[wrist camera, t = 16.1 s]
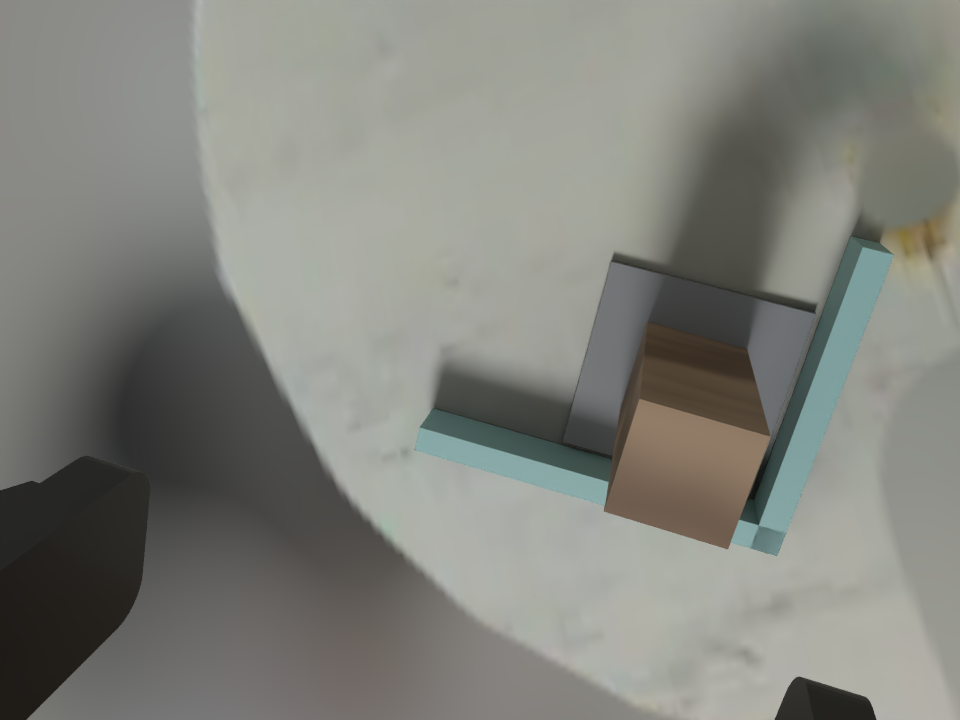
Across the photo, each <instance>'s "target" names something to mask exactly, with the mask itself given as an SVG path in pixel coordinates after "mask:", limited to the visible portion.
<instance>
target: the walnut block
mask: <svg viewBox="0 0 960 720" xmlns="http://www.w3.org/2000/svg"><path fill="white" fill-rule="evenodd" d="M770 437H771V436H770V432H769V429H768V425H767V421H766V417H765V414H764V410H763V406H762V402H761V399H760V395H759V391H758V387H757V384H756V380H755V376H754V373H753V369H752V365H751V361H750V358H749V354H748V350H747V349H745V348H741V347H738V346H734V345H730V344H727V343H723V342H720V341H716V340H712V339H709V338H705V337H702V336H698V335H694V334H691V333H687V332H684V331H680V330H676V329H673V328H669V327H666V326H662V325H658V324H655V323H651V322H647V325H646V328H645V331H644V335H643V338H642V341H641V344H640V348H639V351H638V354H637V357H636V360H635V364H634V367H633V370H632V373H631V377H630V380H629V383H628V386H627V390H626V393H625V396H624V399H623V402H622V406H621V409H620V413H619V419H618V426H617V432H616V438H615V445H614V451H613V457H612V464H611V470H610V476H609V483H608V489H607V495H606V502H605V508H604V512H608V513H611V514H614V515H617V516H621V517H624V518H627V519H631V520H634V521H637V522H640V523H644V524H647V525H650V526H653V527H657V528H660V529H663V530H666V531H670V532H673V533H676V534H680V535H683V536H686V537H689V538H693V539H696V540H699V541H702V542H706V543H709V544H712V545H715V546H719V547H722V548H725V549H728V548H729V545H730V542H731V540H732V537H733V534H734V532H735V529H736V527H737V524H738V521H739V519H740V516H741V513H742V511H743V508H744V506H745V503H746V500H747V498H748V495H749V492H750V490H751V487H752V485H753V482H754V479H755V477H756V474H757V471H758V469H759V466H760V464H761V461H762V458H763V456H764V453H765V450H766V448H767V445H768V443H769V440H770Z"/></svg>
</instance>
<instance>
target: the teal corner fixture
mask: <svg viewBox="0 0 960 720" xmlns="http://www.w3.org/2000/svg"><path fill="white" fill-rule="evenodd" d="M893 256H894V254H892V253H891V252H890V251H889V250H887V249H886V248H885V247H884V246H883V245H881V244H880V243H877V242H873V241H869V240H865V239H861V238H856V237H852V236H851V237H850V239H849V242H848V245H847V248H846V250H845V253H844V256H843V259H842V261H841V264H840V267H839V269H838V272H837V275H836V278H835V280H834V283H833V286H832V289H831V291H830V294H829V297H828V299H827V302H826V305H825V308H824V310H823V313H822V316H821V318H820V321H819V324H818V327H817V329H816V332H815V335H814V338H813V340H812V343H811V346H810V348H809V351H808V354H807V357H806V359H805V362H804V365H803V368H802V370H801V373H800V376H799V378H798V381H797V384H796V387H795V389H794V392H793V395H792V397H791V400H790V403H789V406H788V408H787V411H786V414H785V417H784V419H783V422H782V425H781V427H780V430H779V433H778V436H777V438H776V441H775V444H774V447H773V449H772V452H771V455H770V457H769V460H768V463H767V466H766V468H765V471H764V474H763V477H762V479H761V482H760V485H759V487H758V490H757V493H756V496H755V498H754V500H753V499H750V498H747V500H746V503H745V506H744V508H743V511H742V513H741V516H740V519H739V521H738V524H737V527H736V529H735V532H734V534H733V537H732V540H731V543H734V544H737V545H741V546H744V547H748V548H751V549H755V550H758V551H761V552H765V553H768V554H772V555H775V556H777V555H778V553H779V550H780V547H781V545H782V542H783V540H784V537H785V535H786V532H787V529H788V527H789V524H790V522H791V519H792V516H793V514H794V511H795V509H796V506H797V504H798V501H799V498H800V496H801V493H802V491H803V488H804V486H805V483H806V480H807V478H808V475H809V473H810V470H811V467H812V465H813V462H814V460H815V457H816V455H817V452H818V449H819V447H820V444H821V442H822V439H823V436H824V434H825V431H826V429H827V426H828V424H829V421H830V418H831V416H832V413H833V411H834V408H835V406H836V403H837V400H838V398H839V395H840V393H841V390H842V387H843V385H844V382H845V380H846V377H847V375H848V372H849V369H850V367H851V364H852V362H853V359H854V357H855V354H856V351H857V349H858V346H859V344H860V341H861V338H862V336H863V333H864V331H865V328H866V326H867V323H868V320H869V318H870V315H871V313H872V310H873V307H874V305H875V302H876V300H877V297H878V295H879V292H880V289H881V287H882V284H883V282H884V279H885V277H886V274H887V271H888V269H889V266H890V264H891V261H892V258H893ZM815 316H816V313H815V312H811V311H807V310H803V309H799V308H795V307H792V306H788V305H784V304H780V303H776V302H772V301H768V300H764V299H760V298H756V297H753V296H749V295H745V294H741V293H737V292H733V291H729V290H725V289H721V288H717V287H714V286H710V285H706V284H702V283H698V282H694V281H690V280H686V279H682V278H678V277H674V276H671V275H667V274H663V273H659V272H655V271H651V270H647V269H643V268H639V267H635V266H632V265H628V264H624V263H620V262H616V261H611V265H610V269H609V272H608V276H607V280H606V283H605V287H604V291H603V294H602V298H601V302H600V305H599V309H598V313H597V316H596V320H595V324H594V327H593V331H592V335H591V338H590V342H589V346H588V349H587V353H586V357H585V360H584V364H583V368H582V371H581V375H580V379H579V383H578V386H577V390H576V394H575V397H574V401H573V405H572V408H571V412H570V416H569V419H568V423H567V427H566V430H565V434H564V438H563V441H562V442H565V443H568V444H572V445H575V446H579V447H582V448H586V449H589V450H593V451H596V452H600V453H603V454H607V455H610V456H613V451H614V445H615V438H616V432H617V426H618V419H619V413H620V409H621V406H622V402H623V399H624V396H625V393H626V390H627V386H628V383H629V380H630V377H631V373H632V370H633V367H634V364H635V360H636V357H637V354H638V351H639V348H640V344H641V341H642V338H643V335H644V331H645V328H646V325H647V322H651V323H655V324H658V325H662V326H666V327H669V328H673V329H676V330H680V331H684V332H687V333H691V334H694V335H698V336H702V337H705V338H709V339H712V340H716V341H720V342H723V343H727V344H730V345H734V346H738V347H741V348H745V349H747V350H748V354H749V358H750V361H751V365H752V369H753V373H754V376H755V380H756V384H757V387H758V391H759V395H760V399H761V402H762V406H763V410H764V414H765V417H766V421H767V425H768V429H769V432H770V436H771V437H772V434H773V431H774V428H775V426H776V423H777V420H778V417H779V415H780V412H781V409H782V406H783V404H784V401H785V398H786V396H787V393H788V390H789V387H790V385H791V382H792V379H793V376H794V374H795V371H796V368H797V365H798V363H799V360H800V357H801V354H802V352H803V349H804V346H805V343H806V341H807V338H808V335H809V332H810V330H811V327H812V324H813V321H814V319H815ZM771 437H770V439H771ZM769 442H770V440H769ZM768 445H769V443H768ZM768 445H767V448H768ZM767 448H766V450H767ZM415 450H416V451H419V452H423V453H426V454H429V455H433V456H436V457H440V458H443V459H447V460H450V461H453V462H457V463H460V464H464V465H467V466H471V467H474V468H477V469H481V470H484V471H488V472H491V473H494V474H498V475H501V476H505V477H508V478H512V479H515V480H518V481H522V482H525V483H529V484H532V485H536V486H539V487H542V488H546V489H549V490H553V491H556V492H559V493H563V494H566V495H570V496H573V497H577V498H580V499H583V500H587V501H590V502H594V503H597V504H601V505H604V506H605V502H606V495H607V489H608V483H609V476H610V470H611V464H612V459H609V458H606V457H602V456H599V455H595V454H592V453H588V452H585V451H581V450H578V449H574V448H571V447H567V446H564V445H560V444H557V443H553V442H550V441H546V440H543V439H539V438H536V437H532V436H529V435H525V434H522V433H518V432H515V431H511V430H508V429H504V428H501V427H497V426H494V425H490V424H487V423H483V422H480V421H476V420H473V419H469V418H466V417H462V416H459V415H455V414H452V413H448V412H445V411H441V410H437V409H434V408H433V409H432V411H431V412H430V414H429V415H428V416H427V418H426V419H425V421H424V422H423V423H422V425H421V426H420V428H419V433H418V437H417V442H416V447H415ZM766 450H765V453H766ZM765 453H764V456H765ZM764 456H763V458H762V461H763V459H764ZM762 461H761V464H762ZM761 464H760V466H759V469H758V471H757V474H756V477H755V479H754V482H753V485H752V487H751V490H750V492H749V495H750V494H751V492H752V489H753V486H754V483H755V481H756V478H757V475H758V472H759V470H760V467H761Z"/></svg>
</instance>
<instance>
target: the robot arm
mask: <svg viewBox="0 0 960 720" xmlns="http://www.w3.org/2000/svg"><path fill="white" fill-rule="evenodd" d="M149 497H150V484H149V479H148V477H147V475H146V474H145V473H143V472H140V471H137V470H134V469H130V468H127V467H124V466H120V465H117V464H114V463H111V462H108V461H104V460H101V459H98V458H95V457H91V456H83V457H80V458H79V459H77V460H75V461H74V462H72V463H70V464H69V465H67V466H66V467H64V468H63V469H61V470H60V471H58V472H57V473H55V474H54V475H52V476H50V477H49V478H47V479H46V480H44V481H43V482H41V483H37V482H34V481H30V482H26V483H23V484H20V485H17V486H13V487H10V488H7V489H4V490H0V720H26V719H27V718H28V717H29V716H30V715H31V714H32V713H33V712H34V711H35V710H36V709H37V708H38V707H39V706H40V705H41V704H42V703H43V702H44V701H45V700H46V699H47V698H48V697H49V696H50V695H51V694H52V693H53V692H54V691H55V690H56V689H57V688H58V687H59V686H60V685H61V684H62V683H63V682H64V681H65V680H66V679H67V678H68V677H69V676H70V675H71V674H72V673H73V672H74V671H75V670H76V669H77V668H78V667H79V666H80V665H81V664H82V663H83V662H84V661H85V660H86V659H87V658H88V657H89V656H90V655H91V654H92V653H93V652H94V651H95V650H96V649H97V648H98V647H99V646H100V645H101V644H102V643H103V642H104V641H105V640H106V639H107V638H108V637H109V636H110V635H111V634H112V633H113V632H114V631H115V630H116V629H117V628H118V627H119V626H120V625H121V624H122V623H123V621H124V620H125V618H126V617H127V615H128V614H129V612H130V610H131V608H132V606H133V604H134V602H135V600H136V597H137V595H138V592H139V589H140V585H141V581H142V574H143V563H144V552H145V541H146V530H147V519H148V507H149ZM775 720H876V717H875V714H874V711H873V707H872V705H871V703H870V701H869V700H868V699H867V698H866V697H864V696H861V695H858V694H854V693H851V692H848V691H845V690H841V689H838V688H835V687H832V686H828V685H825V684H822V683H819V682H815V681H812V680H809V679H806V678H802V677H796V678H795V679H794V680H793V681H792V682H791V684H790V686H789V687H788V689H787V691H786V694H785V696H784V698H783V701H782V703H781V706H780V708H779V710H778V713H777V715H776V717H775Z"/></svg>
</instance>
